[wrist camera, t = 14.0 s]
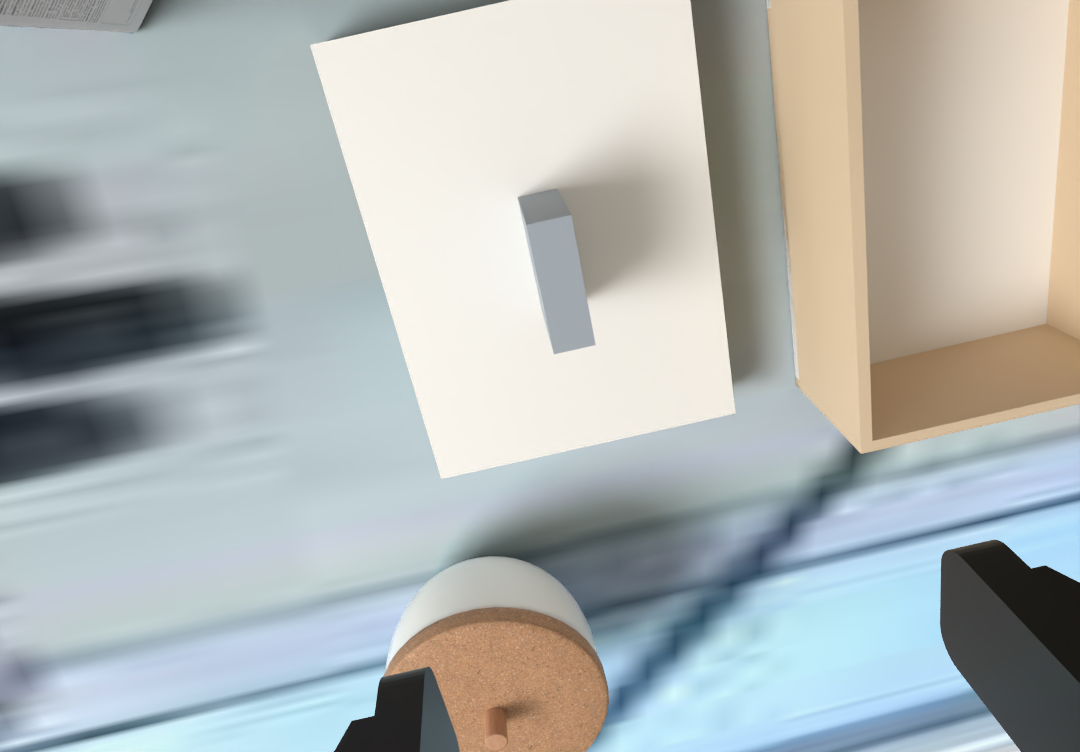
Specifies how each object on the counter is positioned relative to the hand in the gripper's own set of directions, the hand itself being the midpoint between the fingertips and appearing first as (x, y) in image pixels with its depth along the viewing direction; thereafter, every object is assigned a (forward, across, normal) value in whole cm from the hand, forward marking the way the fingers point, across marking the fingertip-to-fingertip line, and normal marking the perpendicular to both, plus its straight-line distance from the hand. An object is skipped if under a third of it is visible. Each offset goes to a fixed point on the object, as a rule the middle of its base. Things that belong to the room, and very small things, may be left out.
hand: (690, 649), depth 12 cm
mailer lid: (+25, 0, 0) cm, 25 cm away
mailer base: (+25, -18, +1) cm, 31 cm away
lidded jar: (+25, +7, +19) cm, 32 cm away
